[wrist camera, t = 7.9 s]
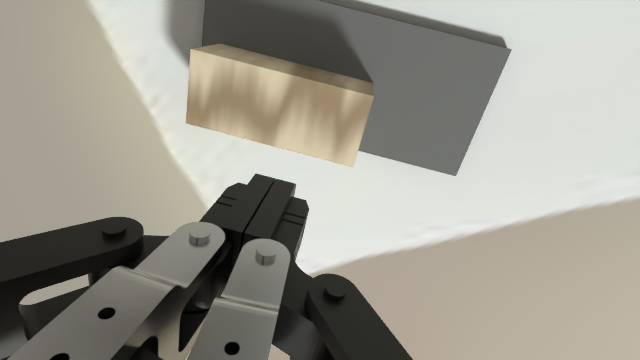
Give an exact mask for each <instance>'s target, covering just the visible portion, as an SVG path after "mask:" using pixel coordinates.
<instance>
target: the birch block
mask: <svg viewBox="0 0 640 360" xmlns="http://www.w3.org/2000/svg"><path fill="white" fill-rule="evenodd" d="M373 98H374V83H371V82H368V81H364V80H360V79H356V78H352V77H348V76H344V75H340V74H337V73H333V72H329V71H325V70H321V69H317V68H313V67H309V66H306V65H302V64H298V63H294V62H290V61H286V60H282V59H278V58H275V57H271V56H267V55H263V54H259V53H255V52H251V51H248V50H244V49H240V48H236V47H232V46H228V45H224V44H216V45H210V46H204V47H199V48H193V49H191V50H190V67H189V83H188V99H187V116H186V123H187V124H191V125H195V126H199V127H202V128H206V129H210V130H214V131H217V132H221V133H225V134H229V135H233V136H236V137H240V138H244V139H248V140H252V141H255V142H259V143H263V144H267V145H270V146H274V147H278V148H282V149H286V150H289V151H293V152H297V153H301V154H305V155H308V156H312V157H316V158H320V159H323V160H327V161H331V162H335V163H339V164H342V165H346V166H350V167H353V166H354V162H355V159H356V156H357V152H358V149H359V146H360V142H361V139H362V135H363V132H364V129H365V125H366V122H367V118H368V115H369V112H370V108H371V105H372V101H373Z"/></svg>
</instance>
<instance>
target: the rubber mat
mask: <svg viewBox="0 0 640 360" xmlns="http://www.w3.org/2000/svg"><path fill="white" fill-rule="evenodd" d="M216 44H224V45H228V46H232V47H236V48H240V49H244V50H248V51H251V52H255V53H259V54H263V55H267V56H271V57H275V58H278V59H282V60H286V61H290V62H294V63H298V64H302V65H306V66H309V67H313V68H317V69H321V70H325V71H329V72H333V73H337V74H340V75H344V76H348V77H352V78H356V79H360V80H364V81H368V82H371V83H374V98H373V101H372V105H371V108H370V112H369V115H368V118H367V122H366V125H365V129H364V132H363V135H362V139H361V142H360V146H359V149H358V151H362V152H366V153H370V154H373V155H377V156H381V157H385V158H389V159H392V160H396V161H400V162H404V163H408V164H411V165H415V166H419V167H423V168H427V169H430V170H434V171H438V172H442V173H446V174H449V175H453V176H456V174H457V172H458V170H459V168H460V165H461V163H462V161H463V159H464V156H465V154H466V152H467V150H468V147H469V145H470V143H471V140H472V138H473V136H474V134H475V131H476V129H477V127H478V125H479V122H480V120H481V118H482V116H483V113H484V111H485V109H486V107H487V104H488V102H489V100H490V97H491V95H492V93H493V91H494V88H495V86H496V84H497V82H498V79H499V77H500V75H501V73H502V70H503V68H504V66H505V64H506V61H507V59H508V57H509V54H510V52H511V50H512V49H508V48H504V47H500V46H496V45H492V44H488V43H484V42H480V41H476V40H472V39H468V38H464V37H460V36H456V35H452V34H449V33H445V32H441V31H437V30H433V29H429V28H425V27H421V26H417V25H413V24H409V23H405V22H401V21H397V20H393V19H389V18H385V17H382V16H378V15H374V14H370V13H366V12H362V11H358V10H354V9H350V8H346V7H342V6H338V5H334V4H330V3H326V2H322V1H319V0H205V11H204V25H203V38H202V47H204V46H210V45H216Z"/></svg>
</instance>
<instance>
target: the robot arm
mask: <svg viewBox="0 0 640 360" xmlns="http://www.w3.org/2000/svg"><path fill="white" fill-rule="evenodd" d="M295 188H296V184H294V183H290V182H287V181H283V180H279V179H275V178H271V177H267V176H263V175H260V174H255V175H254V176H253V178H252V179H251V181H250V182H249V183H248V185H245V184H242V183H236V184H234V185H232V186H230V187H228V188H227V189H226V190H225V191H224V192H223V194H222V195H221V197H219V198H218V200H217V201H216V203H214V204H213V206H212V207H211V208H210V209H209V210H208V211H207V213H206V214H205V215H204V216H203V217H202V219H201V220H200V221H199V222H192V223H188V224H185V225H183V226H181V227H179V228H178V229H177V230H176V231H175V232H174V233H173V234H172V235H170V236H150V235H144V232H143V226H142V225H141V224H140V223H139V222H138V221H136V220H134V219H131V218H126V217H110V218H105V219H101V220H96V221H92V222H88V223H84V224H79V225H75V226H70V227H66V228H61V229H57V230H53V231H48V232H44V233H40V234H35V235H31V236H27V237H22V238H18V239H14V240H9V241H5V242H0V360H185V358H186V357H187V355H188V354H189V352H190V351H191V352H190V354H189V356H188V358H187V360H268V357H269V352H270V348H271V344H273V345H274V346H276V347H277V348H279V349H280V350H282V351H283V352H285V353H286V354H288V355H289V356H290V360H413V359H412V358H411V357H410V356H409V354H408V353H407V352H406V350H405V349H404V348H403V346H402V345H401V344H400V343H399V341H398V340H397V339H396V338H395V336H394V335H393V334H392V332H391V331H390V330H389V329H388V327H387V326H386V325H385V323H384V322H383V321H382V320H381V318H380V317H379V316H378V315H377V313H376V312H375V311H374V309H373V308H372V307H371V305H370V304H369V303H368V302H367V301H366V299H365V298H364V297H363V295H362V294H361V293H360V291H359V290H358V289H357V288H356V286H355V285H354V284H353V283H352V282H351V281H349V280H348V279H346V278H344V277H342V276H339V275H335V274H321V275H318V276H316V277H315V278H312V277H311V276H309V275H307V274H306V273H304V272H303V271H302V270H301V269H300V268H299V267H298V266H297V264H296V262H295V260H296V257H297V254H298V251H299V247H300V244H301V241H302V237H303V233H304V228H305V224H306V220H307V216H308V211H309V208H308V205H307V202H306V200H303V199H299V198H295V197H294V193H295ZM86 274H88V278H89V286H87V287H84V288H81V289H78V290H75V291H72V292H69V293H66V294H63V295H60V296H57V297H54V298H51V299H48V300H45V301H42V302H39V303H36V304H32V305H21V304H19V303H20V301H21V300H22V299H23V298H24V297H25V296H26V295H27V294H29V293H31V292H33V291H36V290H38V289H42V288H45V287H48V286H51V285H54V284H57V283H61V282H64V281H67V280H70V279H73V278H76V277H80V276H83V275H86ZM223 291H224V292H223ZM222 293H223V294H222ZM221 295H222V296H221Z"/></svg>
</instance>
